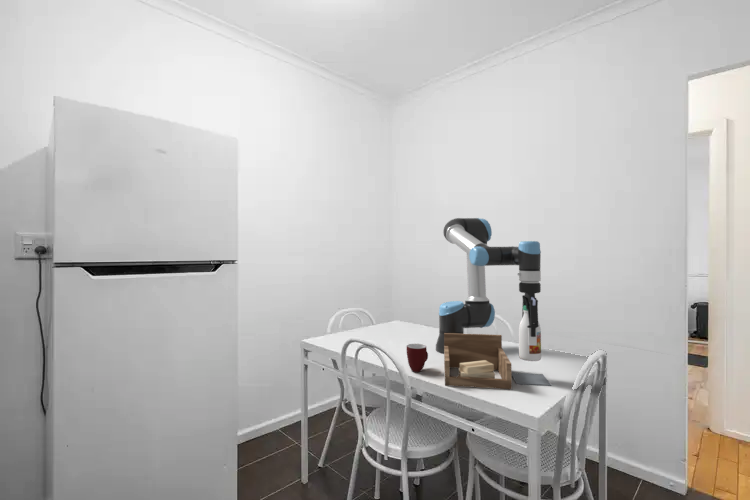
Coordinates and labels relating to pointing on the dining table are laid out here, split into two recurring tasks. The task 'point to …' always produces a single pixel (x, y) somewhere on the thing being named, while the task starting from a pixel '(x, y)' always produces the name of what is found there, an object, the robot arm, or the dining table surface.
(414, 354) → the mug
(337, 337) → the dining table surface
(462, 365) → the offcut top
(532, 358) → the milk bottle
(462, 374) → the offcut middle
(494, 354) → the rack
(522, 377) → the mat
